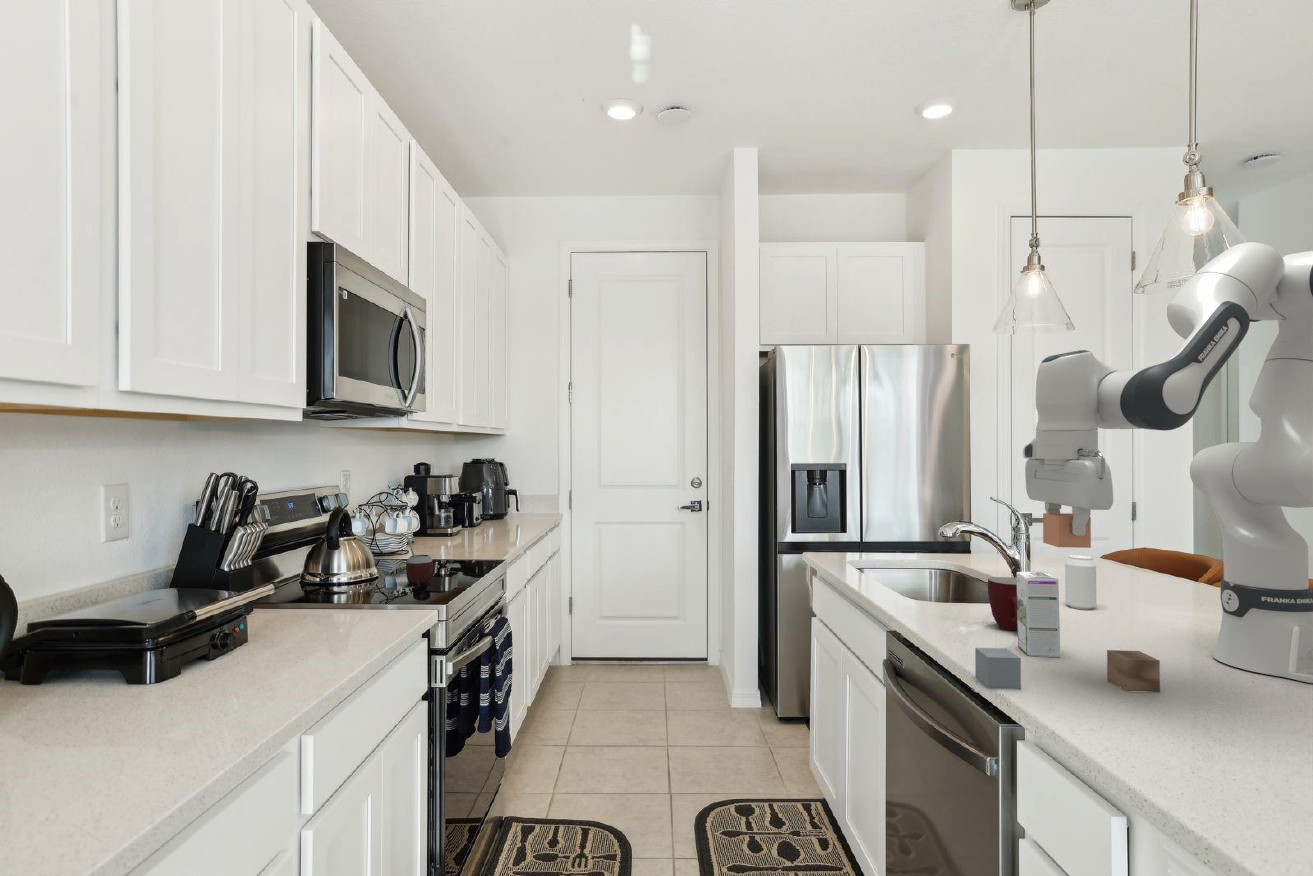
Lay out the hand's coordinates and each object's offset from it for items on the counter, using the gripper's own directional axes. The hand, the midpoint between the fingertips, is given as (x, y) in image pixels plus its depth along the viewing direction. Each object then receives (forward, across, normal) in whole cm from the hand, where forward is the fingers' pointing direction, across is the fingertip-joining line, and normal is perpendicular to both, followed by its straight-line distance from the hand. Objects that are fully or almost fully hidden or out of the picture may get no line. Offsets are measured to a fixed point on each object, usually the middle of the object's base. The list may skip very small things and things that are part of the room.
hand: (1066, 532), depth 112 cm
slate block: (+24, -3, +12) cm, 27 cm away
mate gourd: (+24, +64, +138) cm, 154 cm away
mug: (+24, +29, -4) cm, 38 cm away
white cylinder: (+24, +50, -29) cm, 63 cm away
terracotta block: (+2, 0, 0) cm, 2 cm away
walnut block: (+24, -3, -8) cm, 26 cm away
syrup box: (+24, +14, -2) cm, 28 cm away
